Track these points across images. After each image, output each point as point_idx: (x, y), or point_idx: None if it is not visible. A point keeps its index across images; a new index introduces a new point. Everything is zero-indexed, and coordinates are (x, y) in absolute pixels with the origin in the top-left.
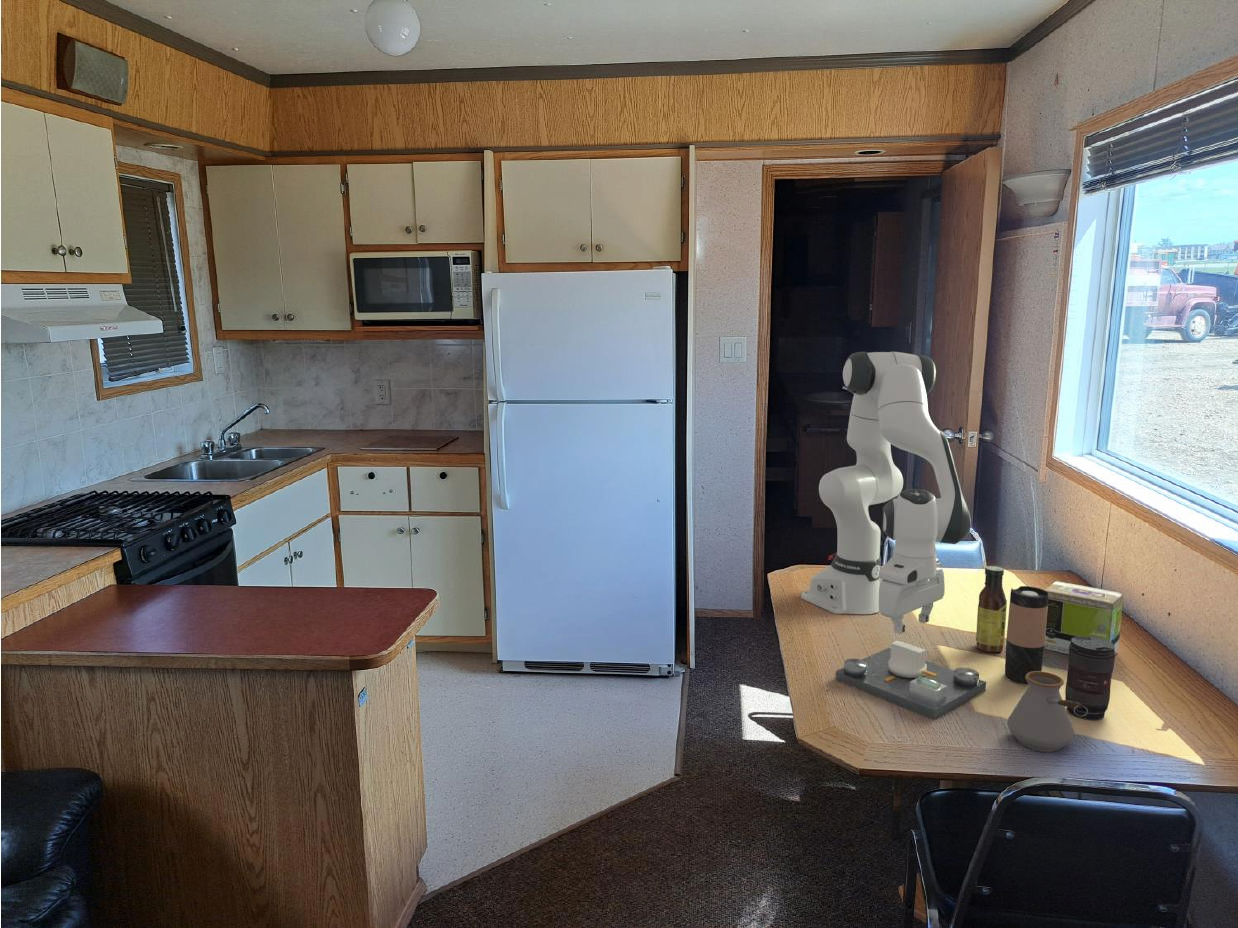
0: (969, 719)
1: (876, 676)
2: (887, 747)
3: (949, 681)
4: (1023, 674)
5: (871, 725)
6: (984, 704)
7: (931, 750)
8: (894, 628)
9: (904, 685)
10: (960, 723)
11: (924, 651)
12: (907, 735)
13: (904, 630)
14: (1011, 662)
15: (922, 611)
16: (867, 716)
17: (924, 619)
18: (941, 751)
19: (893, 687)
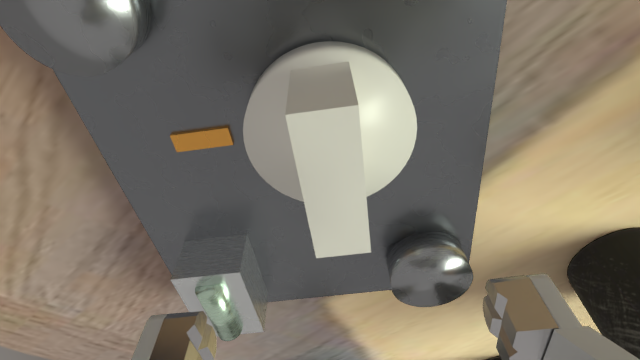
0: (278, 313)
1: (164, 93)
2: (6, 309)
3: (381, 239)
4: (583, 304)
5: (8, 244)
6: (376, 293)
7: (102, 342)
8: (143, 339)
9: (219, 195)
10: None
11: (359, 248)
12: (83, 300)
13: (209, 355)
14: (606, 307)
15: (568, 353)
16: (19, 211)
17: (499, 330)
18: (120, 349)
19: (169, 187)
